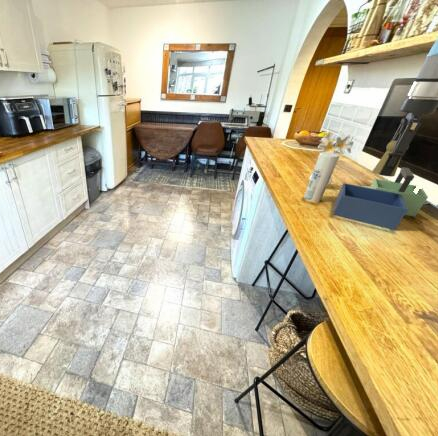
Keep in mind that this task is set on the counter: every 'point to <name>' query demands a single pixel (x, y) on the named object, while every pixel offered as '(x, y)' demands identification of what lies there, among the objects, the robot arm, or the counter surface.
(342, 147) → the flower vase
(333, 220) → the counter surface
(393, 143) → the olive pepper mill
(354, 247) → the counter surface
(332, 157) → the spray can
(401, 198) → the slate bin
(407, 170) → the sage bin
